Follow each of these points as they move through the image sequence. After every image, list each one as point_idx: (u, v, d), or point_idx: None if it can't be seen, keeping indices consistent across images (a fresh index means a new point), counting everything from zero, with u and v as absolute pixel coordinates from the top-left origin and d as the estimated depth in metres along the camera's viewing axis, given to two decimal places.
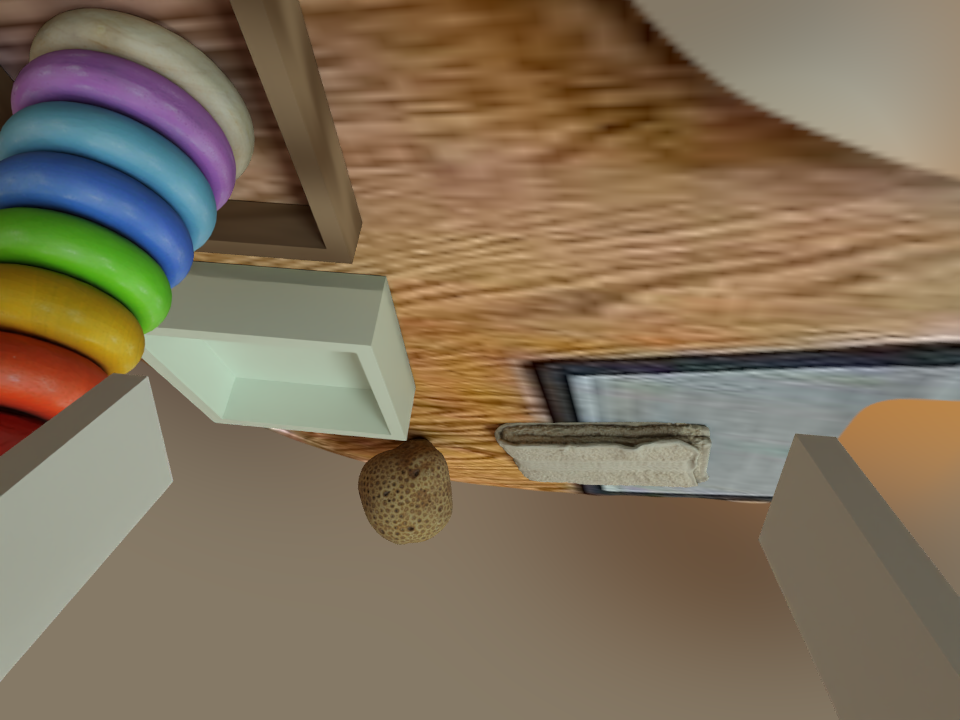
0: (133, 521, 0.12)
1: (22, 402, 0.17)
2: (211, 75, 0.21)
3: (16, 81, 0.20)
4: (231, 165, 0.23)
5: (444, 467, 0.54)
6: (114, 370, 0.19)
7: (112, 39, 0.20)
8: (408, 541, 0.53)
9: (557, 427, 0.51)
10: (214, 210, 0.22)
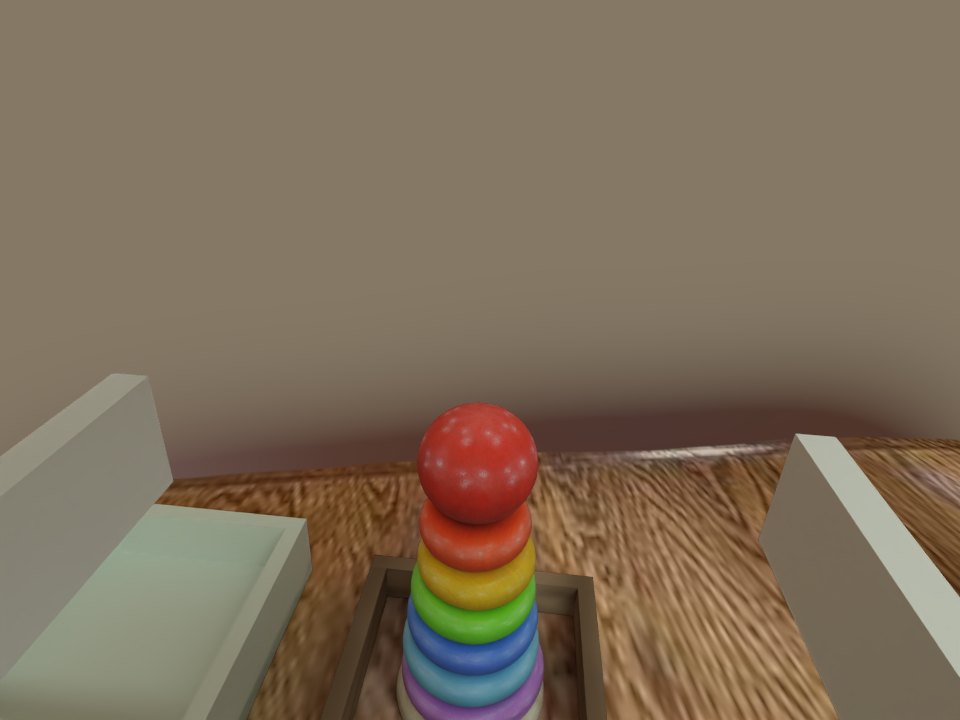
0: (133, 521, 0.12)
1: (503, 529, 0.25)
2: None
3: None
4: None
5: None
6: (450, 571, 0.26)
7: (537, 698, 0.31)
8: None
9: None
10: (444, 698, 0.28)
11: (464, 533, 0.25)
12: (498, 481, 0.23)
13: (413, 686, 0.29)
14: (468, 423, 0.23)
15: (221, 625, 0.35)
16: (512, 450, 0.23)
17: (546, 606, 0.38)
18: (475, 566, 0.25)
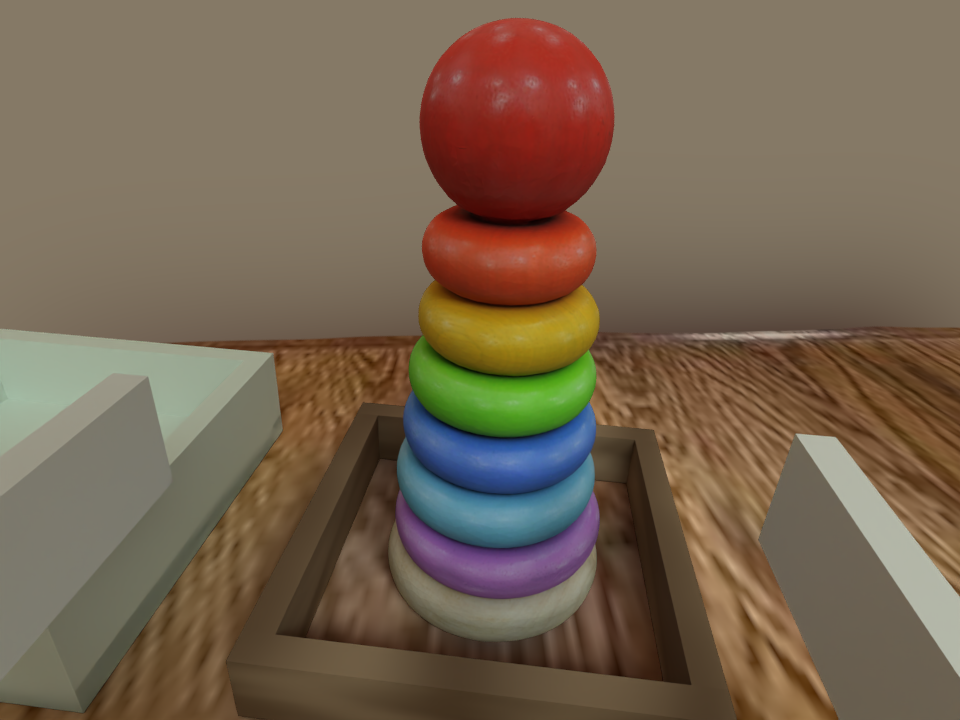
0: (133, 521, 0.12)
1: (556, 233, 0.16)
2: (543, 623, 0.20)
3: None
4: (470, 583, 0.19)
5: None
6: (470, 310, 0.16)
7: (589, 559, 0.22)
8: None
9: None
10: (458, 531, 0.18)
11: (494, 232, 0.15)
12: (557, 99, 0.13)
13: (412, 528, 0.20)
14: (505, 21, 0.14)
15: None
16: (579, 58, 0.14)
17: None
18: (512, 282, 0.15)
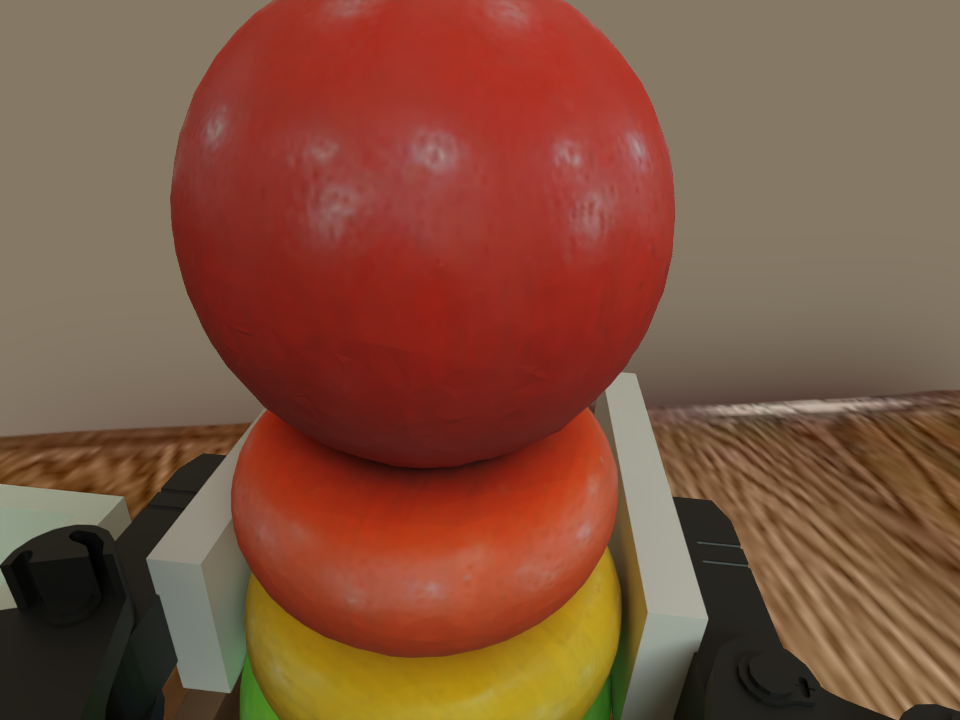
0: None
1: (528, 493, 0.06)
2: None
3: None
4: None
5: None
6: (330, 646, 0.07)
7: None
8: None
9: None
10: None
11: (372, 502, 0.06)
12: (518, 207, 0.04)
13: None
14: None
15: None
16: (590, 73, 0.05)
17: None
18: (410, 640, 0.06)
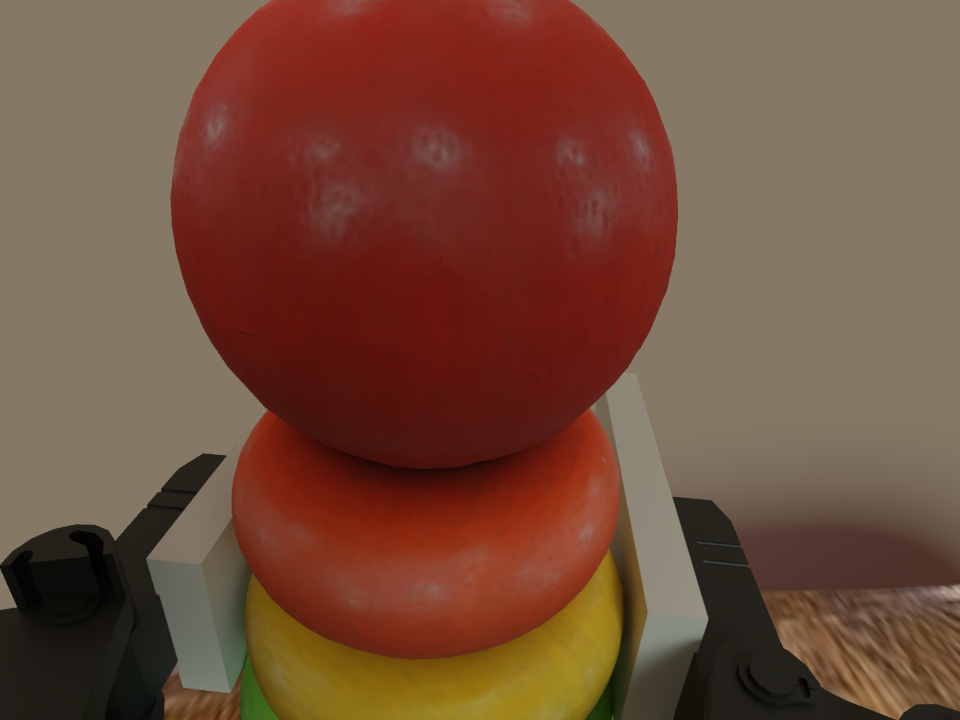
0: None
1: (530, 495, 0.06)
2: None
3: None
4: None
5: None
6: (332, 648, 0.07)
7: None
8: None
9: None
10: None
11: (373, 504, 0.06)
12: (520, 206, 0.04)
13: None
14: None
15: None
16: (593, 71, 0.04)
17: None
18: (413, 641, 0.06)
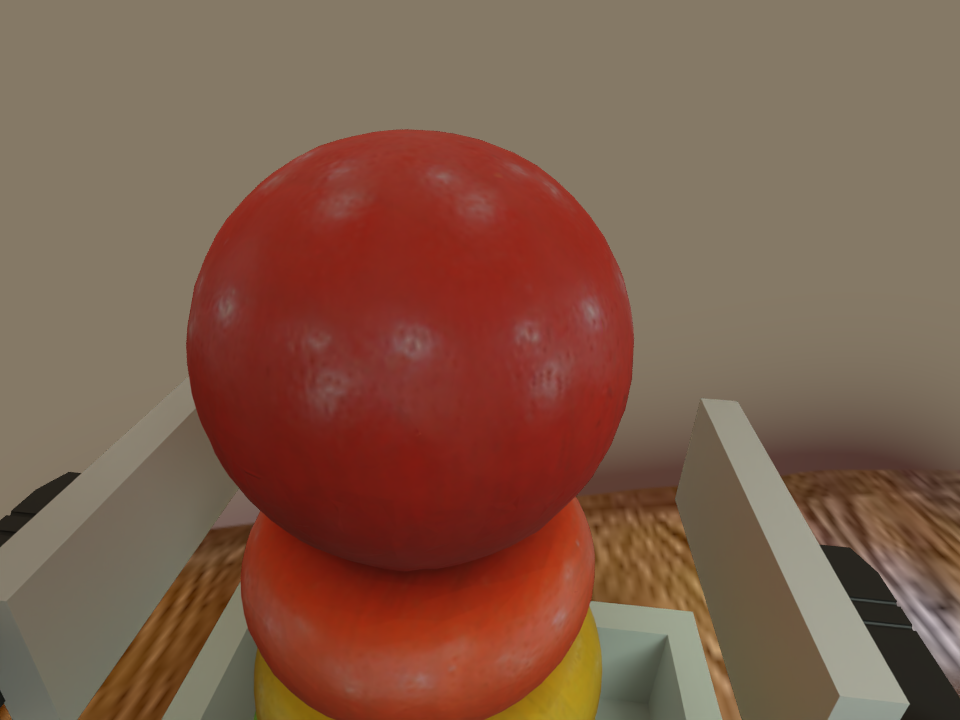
0: (230, 494, 0.13)
1: (507, 585, 0.07)
2: None
3: None
4: None
5: None
6: (331, 718, 0.08)
7: None
8: None
9: None
10: None
11: (367, 598, 0.07)
12: (484, 382, 0.05)
13: None
14: (361, 150, 0.06)
15: None
16: (548, 252, 0.05)
17: None
18: None
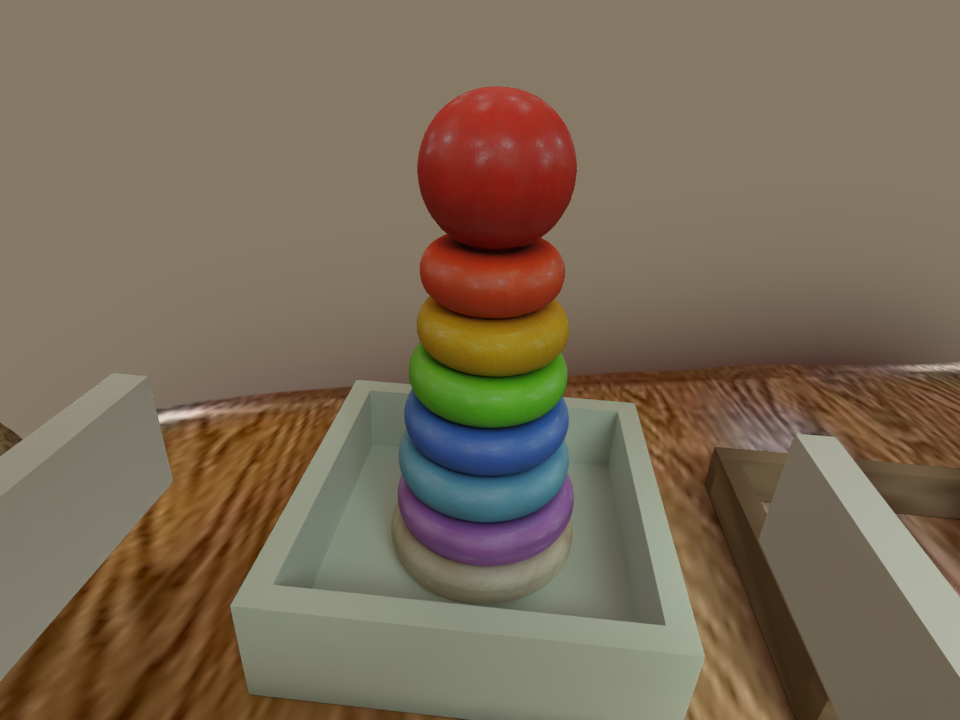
0: (133, 521, 0.12)
1: (530, 259, 0.19)
2: (524, 587, 0.23)
3: None
4: (462, 552, 0.22)
5: None
6: (460, 322, 0.20)
7: (565, 534, 0.25)
8: None
9: None
10: (452, 507, 0.22)
11: (479, 259, 0.19)
12: (527, 156, 0.17)
13: (412, 508, 0.23)
14: (486, 91, 0.17)
15: None
16: (545, 122, 0.17)
17: (930, 507, 0.31)
18: (493, 300, 0.19)
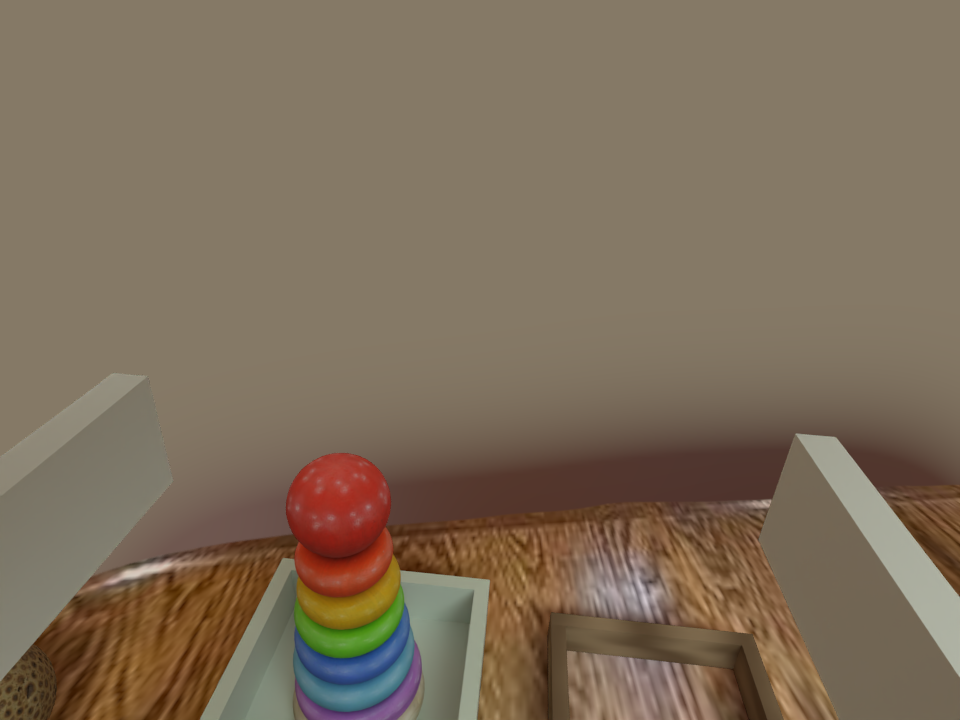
0: (133, 521, 0.12)
1: (360, 561, 0.29)
2: None
3: (414, 640, 0.38)
4: None
5: None
6: (318, 596, 0.30)
7: (414, 703, 0.36)
8: None
9: None
10: (321, 703, 0.32)
11: (326, 564, 0.29)
12: (344, 523, 0.27)
13: (301, 693, 0.34)
14: (323, 473, 0.28)
15: (428, 681, 0.39)
16: (358, 497, 0.28)
17: (709, 661, 0.42)
18: (334, 593, 0.29)
